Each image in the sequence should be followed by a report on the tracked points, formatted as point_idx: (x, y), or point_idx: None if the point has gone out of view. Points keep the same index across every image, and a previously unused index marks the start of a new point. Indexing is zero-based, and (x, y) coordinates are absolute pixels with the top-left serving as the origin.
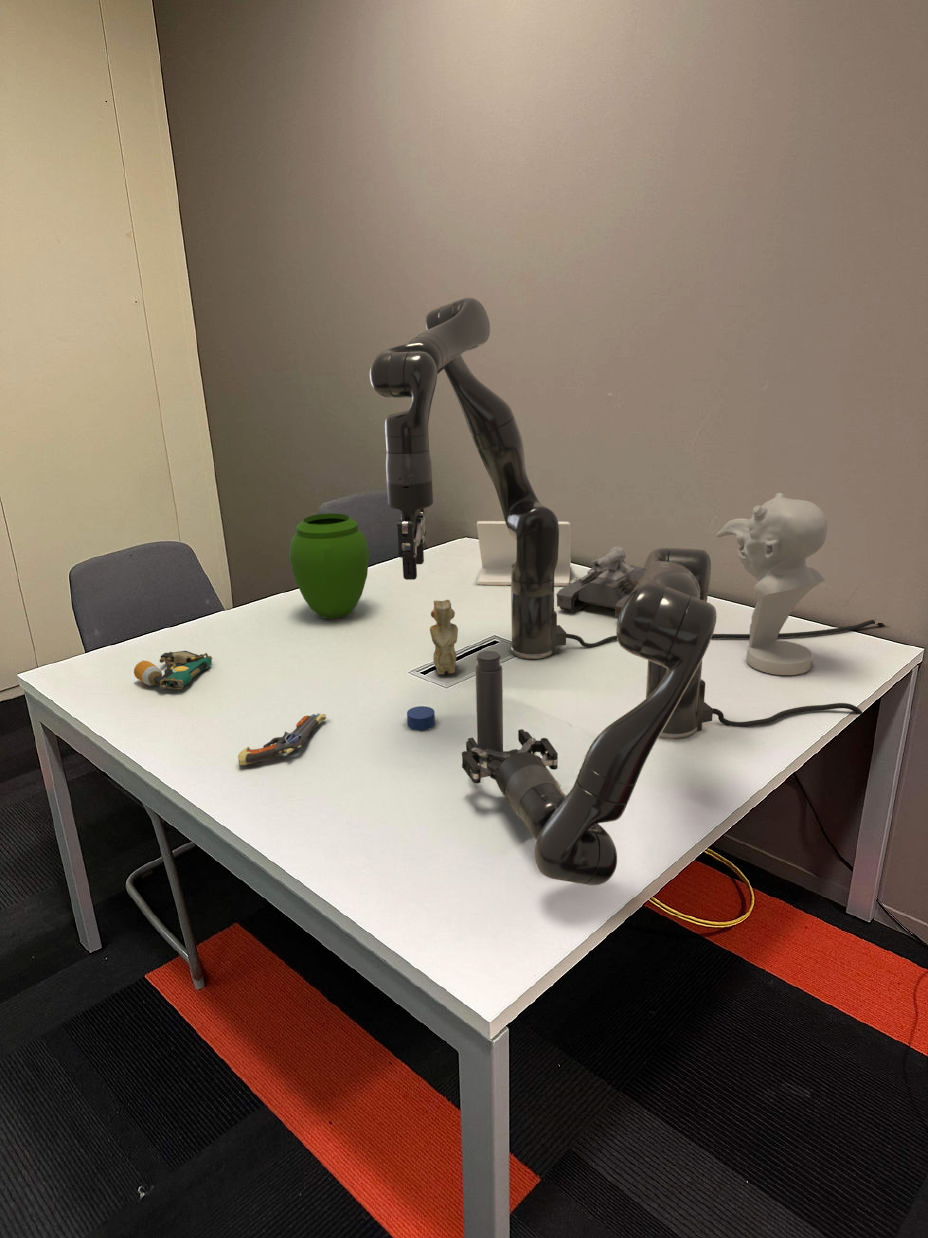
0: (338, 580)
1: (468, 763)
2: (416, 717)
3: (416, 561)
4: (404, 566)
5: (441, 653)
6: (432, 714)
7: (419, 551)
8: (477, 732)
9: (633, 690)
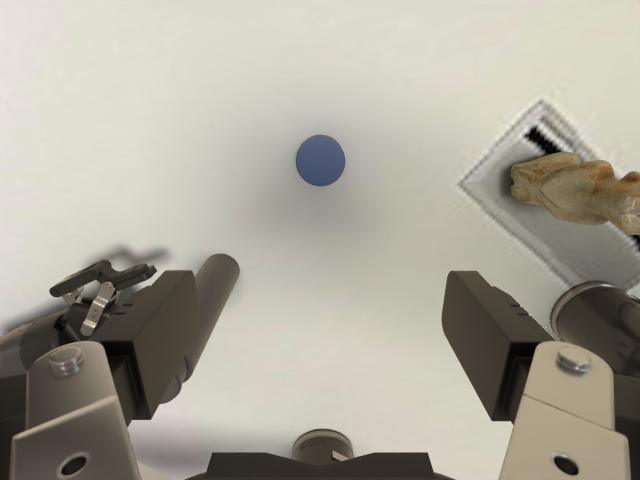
0: None
1: (66, 280)
2: (300, 157)
3: (450, 301)
4: (104, 323)
5: (531, 182)
6: (313, 183)
7: (472, 359)
8: (200, 274)
9: (424, 426)
